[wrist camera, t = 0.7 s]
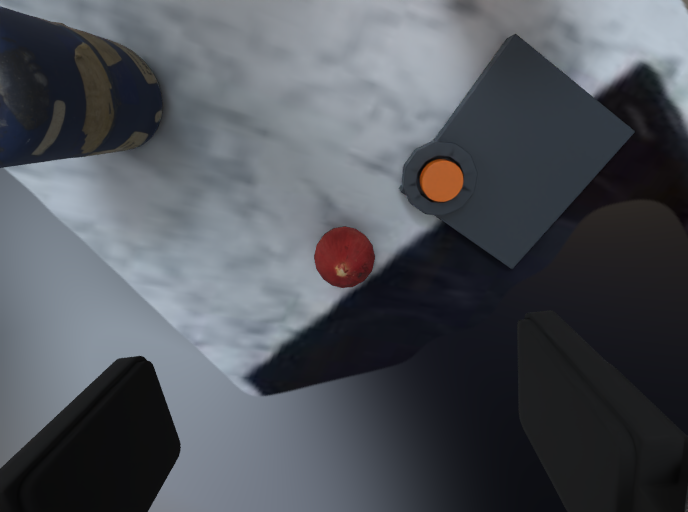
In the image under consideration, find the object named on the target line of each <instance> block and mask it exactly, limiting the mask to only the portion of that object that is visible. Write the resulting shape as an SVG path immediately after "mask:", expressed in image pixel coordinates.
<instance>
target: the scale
mask: <svg viewBox="0 0 688 512" xmlns="http://www.w3.org/2000/svg"><path fill="white" fill-rule="evenodd" d="M634 132H635V131H634V130H632V129H631V128H630V127H629V126H627V125H626V124H625V123H624V122H623V121H621V120H620V119H619V118H618V117H616V116H615V115H614V114H613V113H612V112H610V111H609V110H608V109H607V108H606V107H604V106H603V105H602V104H601V103H599V102H598V101H597V100H596V99H595V98H593V97H592V96H591V95H590V94H588V93H587V92H586V91H585V90H584V89H582V88H581V87H580V86H579V85H577V84H576V83H575V82H574V81H573V80H571V79H570V78H569V77H568V76H566V75H565V74H564V73H563V72H562V71H560V70H559V69H558V68H557V67H556V66H554V65H553V64H552V63H551V62H549V61H548V60H547V59H546V58H545V57H543V56H542V55H541V54H540V53H538V52H537V51H536V50H535V49H534V48H532V47H531V46H530V45H529V44H527V43H526V42H525V41H524V40H523V39H521V38H520V37H519V36H518V35H517V34H514V35H512V36H511V37H509V38H507V39H506V41H505V42H504V44H503V45H502V46H501V48H500V49H499V50H498V52H497V53H496V55H495V56H494V57H493V59H492V60H491V62H490V63H489V64H488V66H487V67H486V68H485V70H484V71H483V73H482V74H481V75H480V77H479V78H478V80H477V81H476V82H475V84H474V85H473V86H472V88H471V89H470V91H469V92H468V93H467V95H466V96H465V98H464V99H463V100H462V102H461V103H460V104H459V106H458V107H457V109H456V110H455V111H454V113H453V114H452V116H451V117H450V118H449V120H448V121H447V122H446V124H445V125H444V127H443V128H442V129H441V131H440V132H439V134H438V135H437V136H436V138H435V139H434V140H433V141H431V142H429V143H427V144H425V145H423V146H421V147H419V148H417V149H415V150H414V152H413V153H412V154H411V156H410V157H409V159H408V160H407V161H406V163H405V164H404V166H403V175H402V185H401V186H400V188H399V189H400V191H401V192H402V193H403V194H405V195H406V196H407V198H408V200H409V202H410V203H411V204H412V205H413V206H414V207H416V208H417V209H419V210H420V211H422V212H423V213H425V214H431V215H435V216H436V217H438V218H439V219H441V220H442V221H443V222H445V223H446V224H448V225H449V226H451V227H452V228H453V229H455V230H456V231H458V232H459V233H461V234H462V235H464V236H465V237H466V238H468V239H469V240H471V241H472V242H474V243H475V244H476V245H478V246H479V247H481V248H482V249H484V250H485V251H487V252H488V253H489V254H491V255H492V256H494V257H495V258H497V259H498V260H499V261H501V262H502V263H504V264H505V265H507V266H508V267H510V268H511V269H513V268H514V267H515V265H516V264H517V263H518V262H519V261H520V260H521V259H522V258H523V257H524V255H525V254H526V253H527V252H528V251H529V250H530V249H531V248H532V246H533V245H534V244H535V243H536V242H537V241H538V240H539V239H540V237H541V236H542V235H543V234H544V233H545V232H546V231H547V230H548V229H549V227H550V226H551V225H552V224H553V223H554V222H555V221H556V220H557V218H558V217H559V216H560V215H561V214H562V213H563V212H564V211H565V210H566V208H567V207H568V206H569V205H570V204H571V203H572V202H573V201H574V199H575V198H576V197H577V196H578V195H579V194H580V193H581V192H582V190H583V189H584V188H585V187H586V186H587V185H588V184H589V183H590V182H591V180H592V179H593V178H594V177H595V176H596V175H597V174H598V173H599V171H600V170H601V169H602V168H603V167H604V166H605V165H606V164H607V162H608V161H609V160H610V159H611V158H612V157H613V156H614V155H615V154H616V152H617V151H618V150H619V149H620V148H621V147H622V146H623V145H624V143H625V142H626V141H627V140H628V139H629V138H630V137H631V136H632V134H633V133H634ZM437 159H445V160H448V161H451V162H453V163H455V164H456V165H457V166H458V167H459V168H460V169H461V171H462V173H463V180H464V181H463V186H462V189H461V191H460V192H459V193H458V195H457V196H456V197H454V198H453V199H451V200H449V201H446V202H437V201H434V200H431V199H430V198H429V197H427V195H426V194H425V193H424V192H423V191H422V189H421V186H420V175H421V172H422V170H423V169H424V167H425V166H426V165H427V164H428V163H430V162H432V161H434V160H437Z"/></svg>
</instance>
